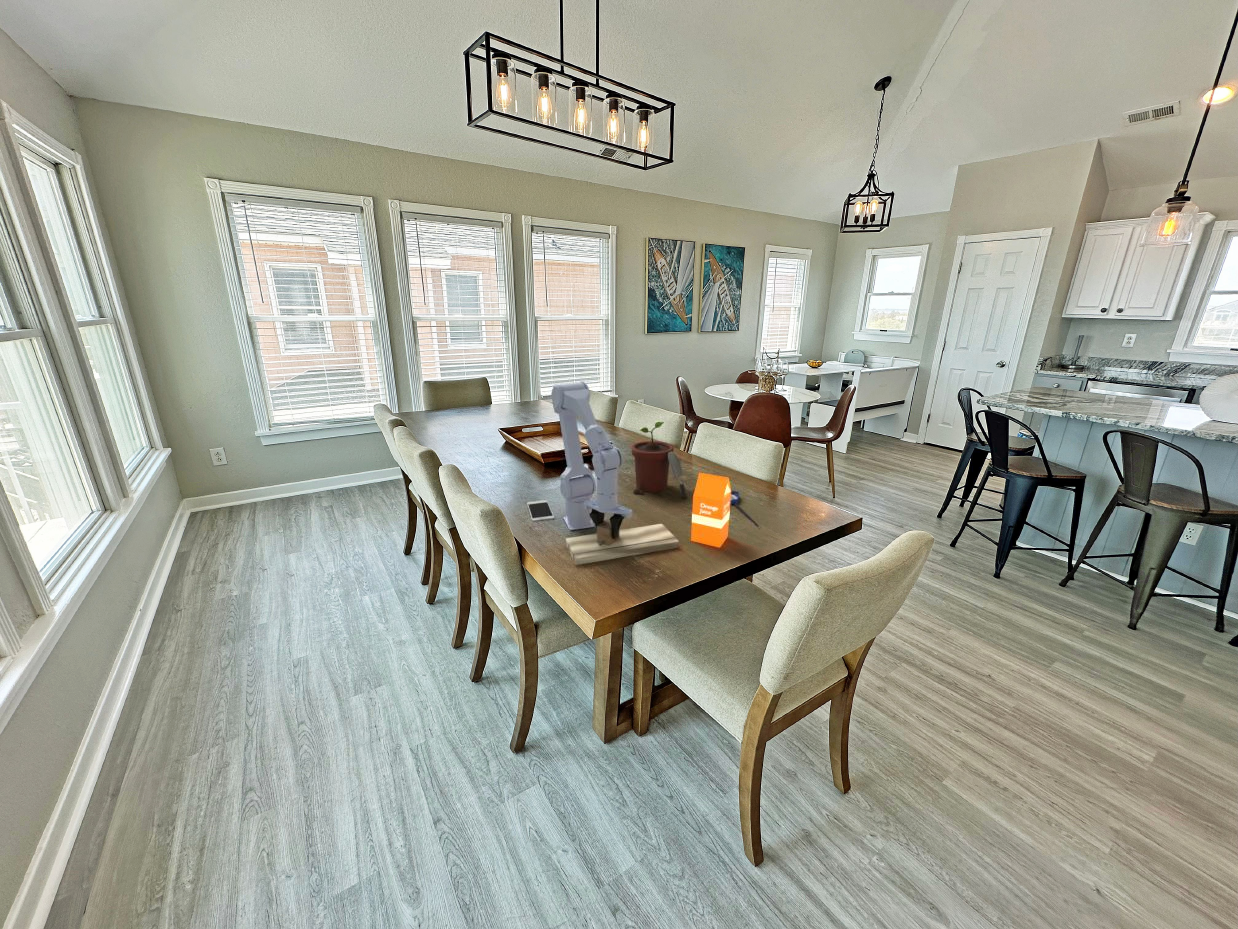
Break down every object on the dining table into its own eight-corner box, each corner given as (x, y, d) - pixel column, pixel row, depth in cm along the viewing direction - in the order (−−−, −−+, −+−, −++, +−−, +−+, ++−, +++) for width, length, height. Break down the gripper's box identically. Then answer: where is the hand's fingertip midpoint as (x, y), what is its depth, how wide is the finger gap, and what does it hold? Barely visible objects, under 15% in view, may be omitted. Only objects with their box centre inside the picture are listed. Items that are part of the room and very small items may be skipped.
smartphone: (547, 502, 168) (547, 499, 168) (554, 520, 154) (554, 517, 154) (526, 504, 166) (526, 502, 166) (532, 523, 152) (532, 520, 152)
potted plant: (669, 478, 190) (671, 416, 182) (687, 499, 170) (690, 430, 162) (626, 481, 187) (626, 418, 179) (638, 503, 166) (639, 433, 158)
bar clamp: (708, 490, 172) (733, 488, 174) (707, 496, 173) (733, 494, 175) (749, 533, 142) (780, 530, 144) (748, 540, 143) (778, 537, 145)
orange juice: (719, 547, 136) (724, 482, 130) (690, 540, 140) (693, 476, 134) (728, 536, 142) (732, 473, 136) (699, 530, 147) (703, 468, 140)
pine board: (565, 544, 138) (565, 538, 137) (661, 529, 147) (661, 523, 146) (575, 565, 127) (575, 558, 126) (678, 547, 136) (678, 541, 135)
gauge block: (607, 533, 140) (607, 518, 138) (619, 536, 138) (619, 521, 136) (593, 545, 133) (593, 529, 132) (606, 548, 131) (606, 532, 130)
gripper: (637, 491, 131) (636, 535, 136) (592, 482, 138) (593, 525, 142) (625, 500, 126) (625, 546, 130) (579, 490, 132) (580, 534, 136)
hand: (607, 535), depth 136 cm, fingers closed on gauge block, 4 cm apart
